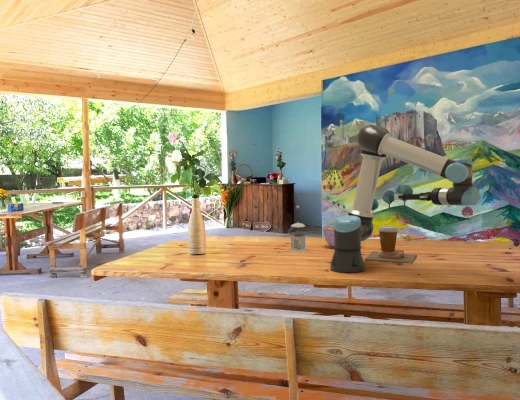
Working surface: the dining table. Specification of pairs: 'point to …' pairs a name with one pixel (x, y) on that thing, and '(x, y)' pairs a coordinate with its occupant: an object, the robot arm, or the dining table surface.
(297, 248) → the french press
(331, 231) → the bowl of food
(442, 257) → the dining table surface
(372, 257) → the pedestal
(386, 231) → the disposable coffee cup
